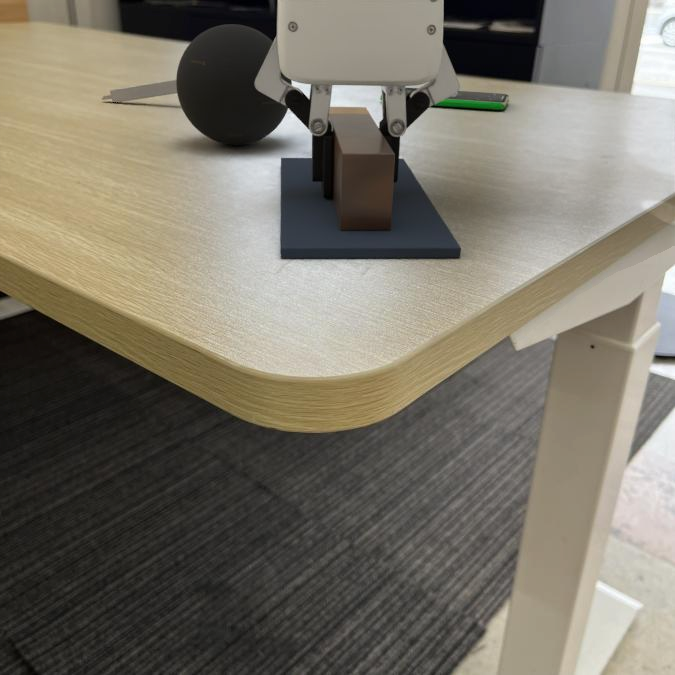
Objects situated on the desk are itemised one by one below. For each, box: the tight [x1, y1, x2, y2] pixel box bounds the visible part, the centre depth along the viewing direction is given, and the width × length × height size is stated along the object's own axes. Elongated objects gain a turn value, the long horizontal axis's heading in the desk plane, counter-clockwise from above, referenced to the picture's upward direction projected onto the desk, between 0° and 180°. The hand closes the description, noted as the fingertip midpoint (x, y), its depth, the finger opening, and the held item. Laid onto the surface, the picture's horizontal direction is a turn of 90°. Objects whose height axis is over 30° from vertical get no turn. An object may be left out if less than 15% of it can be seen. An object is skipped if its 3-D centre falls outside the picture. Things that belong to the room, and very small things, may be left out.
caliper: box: [101, 79, 177, 104], centre depth 84 cm, size 20×1×6 cm, turn 76°
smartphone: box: [379, 87, 510, 111], centre depth 91 cm, size 8×1×15 cm
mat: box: [279, 157, 462, 259], centre depth 51 cm, size 10×22×1 cm, turn 4°
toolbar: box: [329, 106, 395, 231], centre depth 50 cm, size 3×16×4 cm, turn 4°
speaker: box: [175, 23, 293, 146], centre depth 65 cm, size 10×10×10 cm
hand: (353, 189), depth 51 cm, fingers closed on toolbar, 3 cm apart
